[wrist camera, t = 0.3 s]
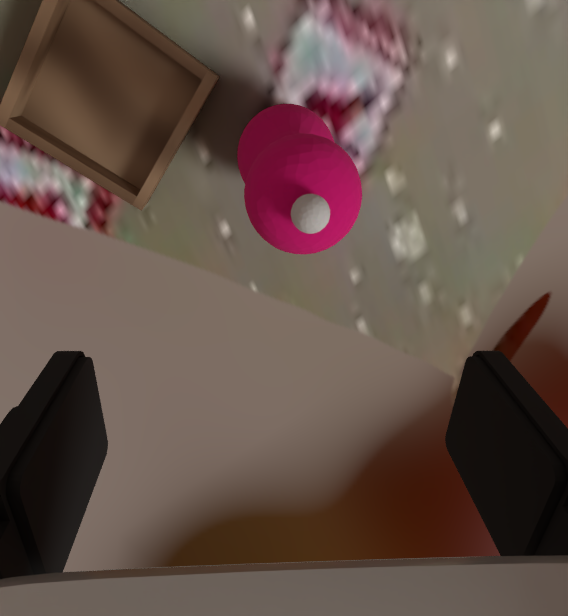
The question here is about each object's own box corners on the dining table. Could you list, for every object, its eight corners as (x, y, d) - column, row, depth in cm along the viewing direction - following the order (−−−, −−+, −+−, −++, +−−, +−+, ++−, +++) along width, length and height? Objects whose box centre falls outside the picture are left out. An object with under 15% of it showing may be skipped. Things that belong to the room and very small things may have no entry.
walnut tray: (73, -34, 31) (59, -42, 29) (220, 76, 35) (218, 77, 33) (10, 117, 35) (-7, 121, 33) (147, 202, 39) (141, 210, 37)
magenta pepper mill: (220, 139, 37) (193, 205, 19) (291, 79, 35) (335, 90, 18) (274, 209, 40) (295, 321, 22) (343, 156, 38) (424, 232, 21)
